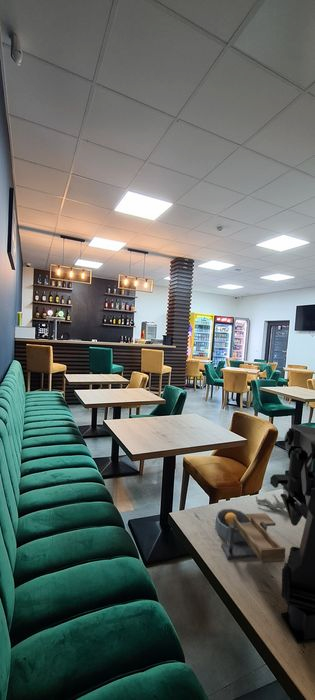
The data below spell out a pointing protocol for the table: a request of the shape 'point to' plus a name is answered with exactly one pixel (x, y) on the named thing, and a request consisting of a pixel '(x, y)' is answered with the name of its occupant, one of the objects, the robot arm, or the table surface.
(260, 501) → the soldier figure
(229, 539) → the lever stand
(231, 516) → the ball
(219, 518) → the cup
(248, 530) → the lever
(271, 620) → the table surface
